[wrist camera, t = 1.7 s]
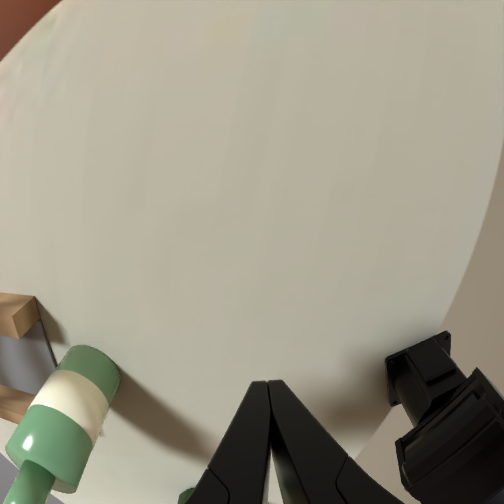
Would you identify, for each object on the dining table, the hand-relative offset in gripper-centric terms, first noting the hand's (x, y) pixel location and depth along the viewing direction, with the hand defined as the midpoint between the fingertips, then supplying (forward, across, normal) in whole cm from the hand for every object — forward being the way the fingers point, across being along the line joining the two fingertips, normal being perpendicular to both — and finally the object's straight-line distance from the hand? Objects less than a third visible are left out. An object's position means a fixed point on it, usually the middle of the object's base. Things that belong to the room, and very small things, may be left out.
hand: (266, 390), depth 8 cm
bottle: (+13, +14, +11) cm, 22 cm away
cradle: (+13, +28, +10) cm, 32 cm away
